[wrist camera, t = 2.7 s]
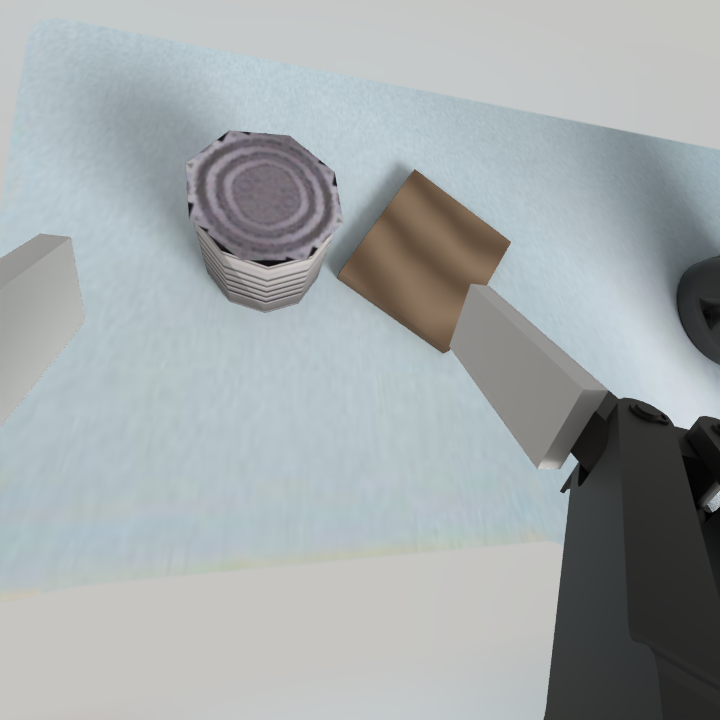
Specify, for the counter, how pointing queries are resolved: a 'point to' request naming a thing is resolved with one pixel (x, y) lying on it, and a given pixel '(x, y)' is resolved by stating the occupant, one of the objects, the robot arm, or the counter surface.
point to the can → (262, 216)
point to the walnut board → (424, 260)
